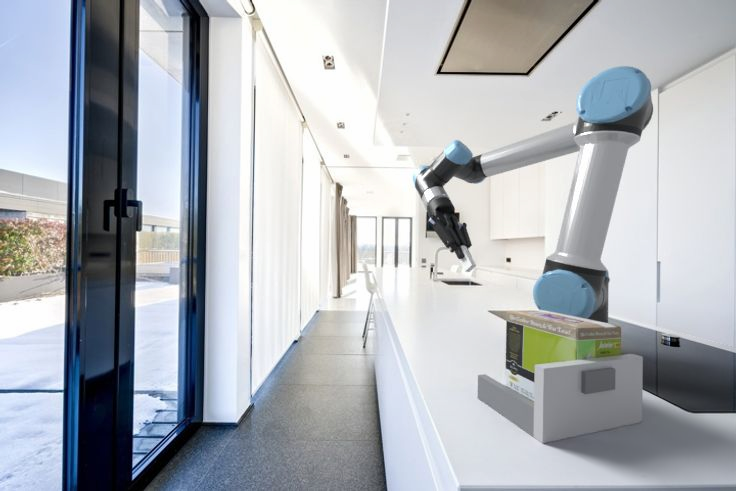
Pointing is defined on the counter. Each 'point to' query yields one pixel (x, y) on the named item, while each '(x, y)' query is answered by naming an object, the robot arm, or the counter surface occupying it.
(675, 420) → the counter surface
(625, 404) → the grey drawer
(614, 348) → the tea box
